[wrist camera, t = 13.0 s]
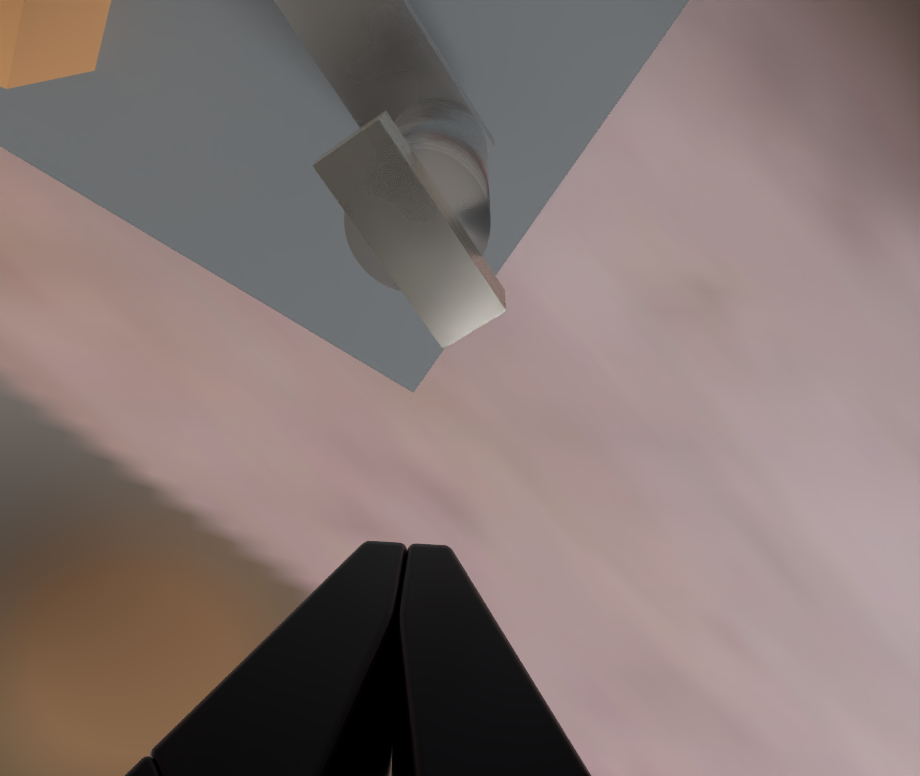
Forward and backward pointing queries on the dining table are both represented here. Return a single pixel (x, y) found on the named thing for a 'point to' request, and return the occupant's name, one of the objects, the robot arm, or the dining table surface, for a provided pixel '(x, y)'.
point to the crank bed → (298, 134)
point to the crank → (406, 160)
